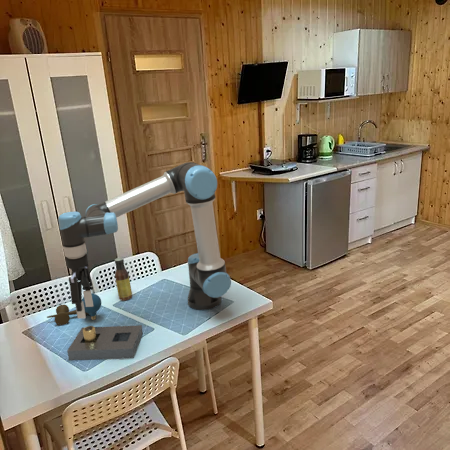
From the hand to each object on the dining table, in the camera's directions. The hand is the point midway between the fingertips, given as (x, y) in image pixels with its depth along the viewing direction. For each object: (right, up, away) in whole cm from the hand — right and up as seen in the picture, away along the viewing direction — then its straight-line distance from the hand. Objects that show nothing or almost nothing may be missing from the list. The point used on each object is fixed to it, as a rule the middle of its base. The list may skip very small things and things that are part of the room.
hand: (85, 311), depth 160 cm
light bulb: (-5, -9, +25) cm, 27 cm away
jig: (+7, -14, +4) cm, 16 cm away
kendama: (-15, -9, +27) cm, 32 cm away
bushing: (+1, -14, +5) cm, 15 cm away
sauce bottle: (+5, -2, +43) cm, 43 cm away
